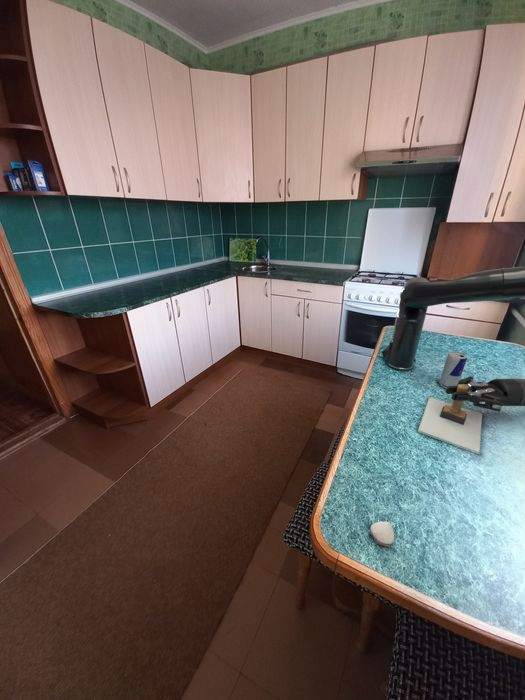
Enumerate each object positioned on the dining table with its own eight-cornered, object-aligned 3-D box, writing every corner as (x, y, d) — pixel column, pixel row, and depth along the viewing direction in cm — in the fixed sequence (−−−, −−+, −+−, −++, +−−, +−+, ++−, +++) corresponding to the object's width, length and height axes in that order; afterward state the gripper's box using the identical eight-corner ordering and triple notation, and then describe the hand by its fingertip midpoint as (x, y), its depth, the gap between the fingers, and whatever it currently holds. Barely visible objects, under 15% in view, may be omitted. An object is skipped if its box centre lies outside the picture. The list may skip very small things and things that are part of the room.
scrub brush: (439, 416, 84) (450, 385, 79) (441, 411, 86) (451, 380, 81) (463, 425, 81) (476, 393, 76) (465, 419, 83) (477, 387, 78)
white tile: (417, 432, 80) (418, 429, 80) (428, 399, 93) (429, 397, 93) (478, 454, 73) (479, 452, 72) (481, 415, 86) (482, 413, 85)
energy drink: (459, 391, 97) (470, 359, 91) (441, 389, 98) (451, 358, 92) (453, 382, 101) (463, 351, 96) (436, 380, 102) (446, 350, 97)
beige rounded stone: (365, 536, 56) (367, 528, 54) (377, 518, 59) (380, 510, 57) (387, 553, 53) (390, 545, 52) (399, 534, 56) (401, 526, 55)
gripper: (499, 367, 84) (439, 368, 84) (540, 396, 72) (469, 397, 72) (490, 388, 87) (432, 389, 87) (527, 419, 75) (460, 420, 75)
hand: (449, 393), depth 80 cm, fingers closed on scrub brush, 2 cm apart
